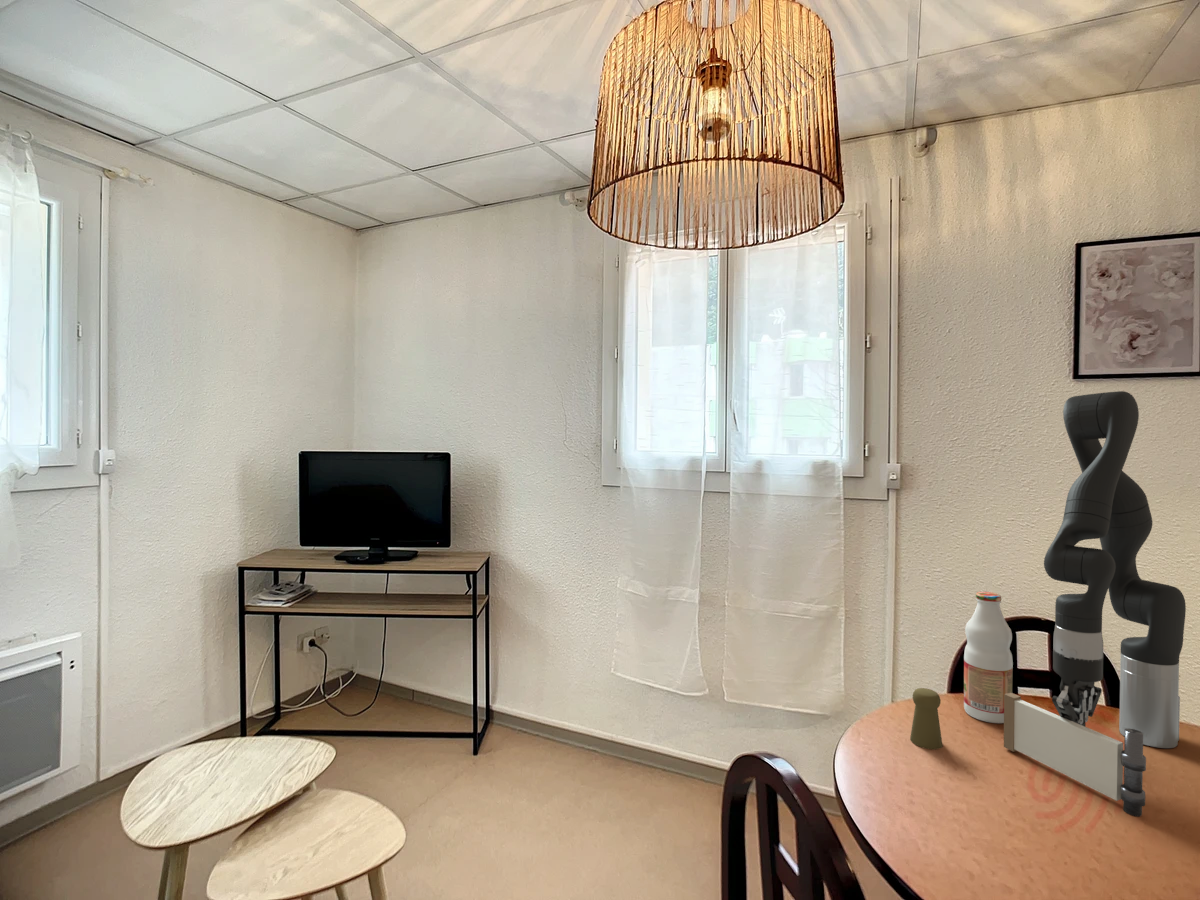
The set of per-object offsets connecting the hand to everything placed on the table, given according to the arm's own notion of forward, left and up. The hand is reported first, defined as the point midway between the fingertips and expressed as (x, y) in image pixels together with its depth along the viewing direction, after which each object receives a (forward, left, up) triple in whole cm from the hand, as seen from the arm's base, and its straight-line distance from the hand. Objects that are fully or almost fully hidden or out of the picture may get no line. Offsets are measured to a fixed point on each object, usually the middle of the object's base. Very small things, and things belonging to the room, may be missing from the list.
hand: (1076, 739), depth 118 cm
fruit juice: (-5, -23, -6) cm, 24 cm away
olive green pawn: (+18, -18, -6) cm, 26 cm away
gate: (+4, 0, -6) cm, 7 cm away
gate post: (+4, +12, -6) cm, 14 cm away
